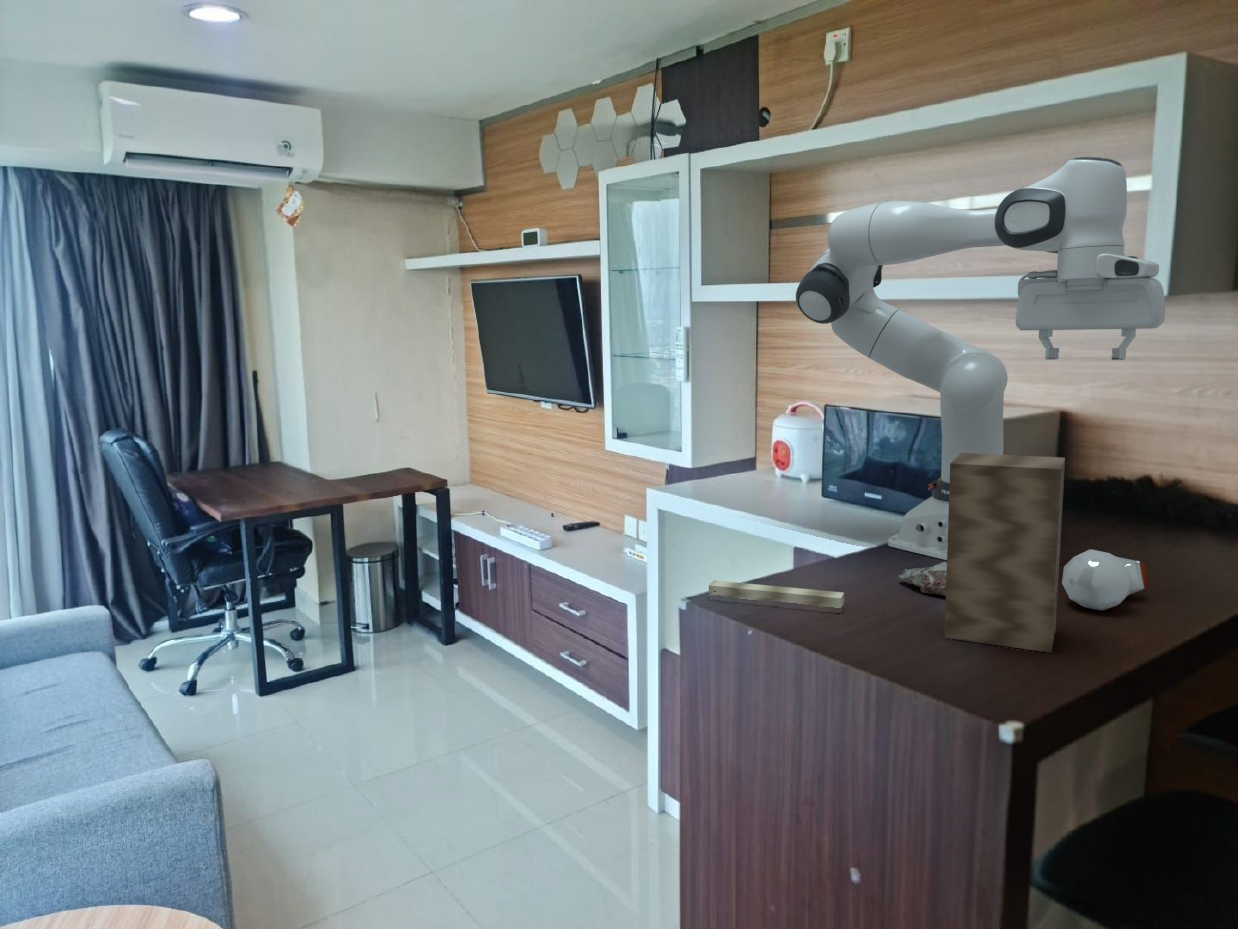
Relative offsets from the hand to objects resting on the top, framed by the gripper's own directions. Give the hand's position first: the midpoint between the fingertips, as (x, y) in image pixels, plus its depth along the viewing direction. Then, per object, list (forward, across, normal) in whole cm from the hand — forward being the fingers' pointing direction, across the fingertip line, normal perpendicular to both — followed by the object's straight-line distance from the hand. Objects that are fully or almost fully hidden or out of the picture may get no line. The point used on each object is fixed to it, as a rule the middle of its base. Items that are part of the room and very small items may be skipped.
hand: (1084, 359), depth 133 cm
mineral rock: (+40, -18, -7) cm, 44 cm away
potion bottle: (+39, +4, +3) cm, 40 cm away
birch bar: (+39, -36, -31) cm, 62 cm away
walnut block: (+39, -3, -21) cm, 45 cm away
